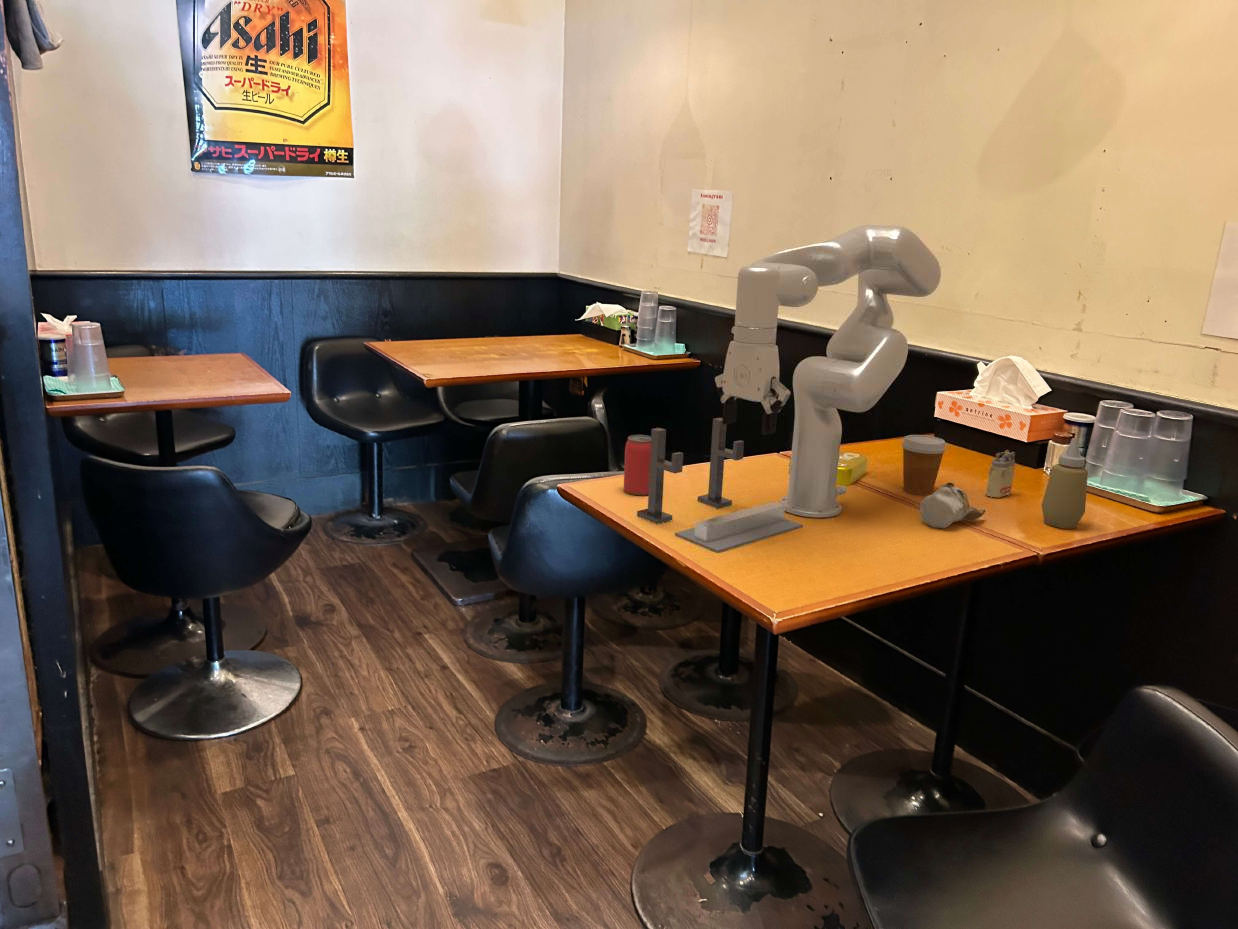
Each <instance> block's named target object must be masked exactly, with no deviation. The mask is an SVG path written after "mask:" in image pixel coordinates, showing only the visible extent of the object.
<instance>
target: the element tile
mask: <svg viewBox="0 0 1238 929" xmlns="http://www.w3.org/2000/svg"><path fill="white" fill-rule="evenodd" d="M867 462H868V457H867V456H866V455H862V454H858V453H851V452H844V451H840V452H839V461H838V471H837V480H836V486H841V485H844V486H845V487H848V486H851V485H852V484H854V483H855V482H856V481H858V480H860V479H861V478H862V477H863V476H864V475H866V472H867V464H868V463H867ZM790 465H791V457H790V458H789V467H788V468H789V469H788V475H789V476H790Z"/></svg>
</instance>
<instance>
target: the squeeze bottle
mask: <svg viewBox="0 0 1238 929" xmlns="http://www.w3.org/2000/svg"><path fill="white" fill-rule="evenodd" d="M1085 461H1086V457H1084V456H1082V455H1081V453H1080V439H1079V438H1077V437H1076V438H1075V437H1072V438H1071V440H1070V443H1069V445H1068V447H1067V450H1066V451H1065V453H1061V454H1059V456H1058V463H1057V464H1056V463H1055V464H1054V465H1052V468H1051V471H1050V475H1049V478H1048V481H1047V485H1046V488H1045V492H1044V495H1043V499H1042V502H1041V509H1042V510H1041V511H1042V515H1043V520H1044V521H1043V522H1044V523H1045V524H1047V525H1049V526H1052V527H1053V528H1054V527H1055V528H1058V527H1059V528H1060V529H1075V528H1077V526H1078V524H1079V523H1080V521H1081V519H1082V518H1083V516H1084V515H1085V513H1086V503H1087V502H1086V501H1087V489H1088V476H1089V474H1088V473H1089V471H1088V470H1087V468H1086V467H1085V466H1084V465H1085Z"/></svg>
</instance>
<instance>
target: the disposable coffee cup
mask: <svg viewBox="0 0 1238 929" xmlns="http://www.w3.org/2000/svg"><path fill="white" fill-rule="evenodd" d="M901 445H902V446H901V447H902V452H903V453H902V461H903V462H902V463H903V464H902V465H903V466H902V467H903V472H902V476H903V478H902V479H903V484H902V485H903V486H902V487H903V488H902V490H903V491H904V492H905V493H909V494H911V495H917V496H929V495H932V494H933V493H934V489H935V486H936V481H937V477H938V474H939V470H940V466H941V463H942V459H943V455H944V453H945V451H946V450H947V446H946V441H945V440H944V439H943V438H939V437H937V436H932V435H931V436H930V435H925V434H923V435H922V434H909V435H906V436H904V438H903V441H901Z"/></svg>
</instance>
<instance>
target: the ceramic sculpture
mask: <svg viewBox="0 0 1238 929" xmlns="http://www.w3.org/2000/svg"><path fill="white" fill-rule="evenodd" d="M985 512H986V510H985V509H977V507H976V508H975V507H973V506H970V502H969V498H968V494H967V492H965V491H964V490H963V489H961V488H960V487H959V488H958V487H956V486H955V483H953V482H947V483H945V484H943V485H941V486H939V487H938V489H937V490H935V491H933V493H932V494H930V495H926V496H925V497H924V499H923V500H922V501H921V502H920V503H919V515H920V519H922V522H924V523H925V524H926V525H928V526H930V527H932V528H935V529H946V528H948V527H950V525H951V524H952V523H956V522H959V521H962V520H963V521H975V520H978V519H980V518H981V517H983V515H984V514H985Z"/></svg>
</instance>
